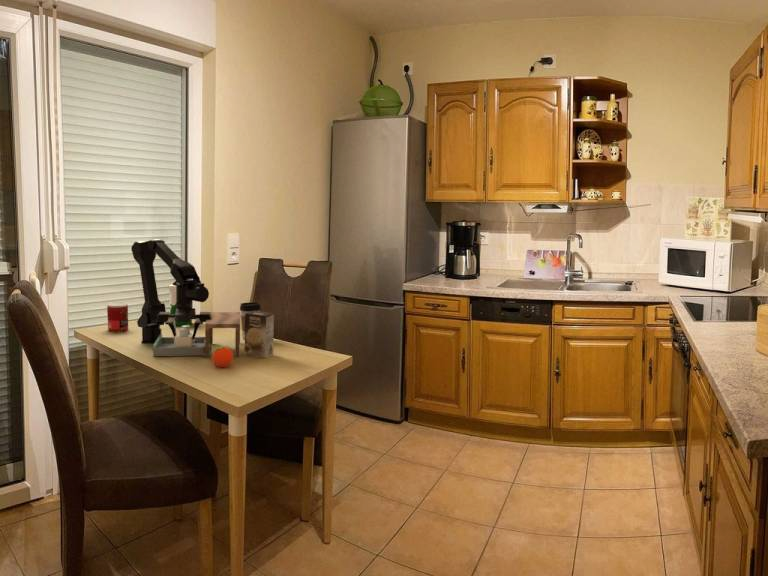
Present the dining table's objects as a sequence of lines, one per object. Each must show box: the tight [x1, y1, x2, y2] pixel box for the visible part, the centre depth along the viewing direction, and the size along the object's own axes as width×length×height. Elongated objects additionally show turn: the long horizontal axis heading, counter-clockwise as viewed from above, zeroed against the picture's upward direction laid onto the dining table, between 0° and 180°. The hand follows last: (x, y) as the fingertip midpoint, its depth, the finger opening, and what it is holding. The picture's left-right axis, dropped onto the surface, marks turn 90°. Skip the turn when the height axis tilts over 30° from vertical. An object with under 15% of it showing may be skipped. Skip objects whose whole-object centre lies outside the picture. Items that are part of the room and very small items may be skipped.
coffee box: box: [244, 310, 275, 359], centre depth 214 cm, size 9×6×16 cm
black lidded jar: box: [239, 302, 261, 341], centre depth 237 cm, size 8×8×15 cm
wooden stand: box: [204, 311, 241, 359], centre depth 219 cm, size 12×21×12 cm, turn 14°
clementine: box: [210, 346, 234, 368], centre depth 198 cm, size 8×7×7 cm
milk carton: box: [167, 280, 193, 327], centre depth 257 cm, size 9×9×20 cm
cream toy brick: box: [173, 325, 195, 347], centre depth 216 cm, size 6×9×6 cm, turn 10°
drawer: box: [152, 334, 205, 357], centre depth 216 cm, size 18×16×4 cm
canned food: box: [106, 302, 129, 333], centre depth 242 cm, size 8×8×11 cm
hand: (184, 339), depth 216 cm, fingers closed on cream toy brick, 6 cm apart
